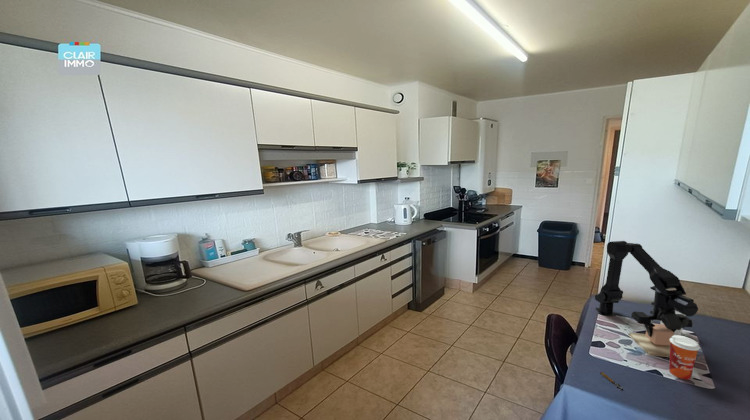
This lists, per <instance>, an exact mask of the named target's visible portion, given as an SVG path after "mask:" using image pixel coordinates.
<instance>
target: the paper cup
mask: <svg viewBox="0 0 750 420" xmlns="http://www.w3.org/2000/svg"><path fill="white" fill-rule="evenodd" d="M670 342H671V343H670V357H669V365H668V366H669V367H668V368H669V373H670V374H671V375H672V376H674V377H677V378H678V379H682V380H690V379H691V377H692V374H693V370H694V367H695V363H696V359H697V355H698V352H699V350H700V349H701V347H700V344H699V343H698V342H697V341H696V340H694V339H692V338H690V337H688V336H684V335H681V336H680V335H674V336H672V337H671V338H670Z"/></svg>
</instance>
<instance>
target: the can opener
mask: <svg viewBox="0 0 750 420" xmlns="http://www.w3.org/2000/svg"><path fill="white" fill-rule="evenodd" d="M600 375H601V376H602V377H604V378H605V379H607V381H609V382H610V383H612V384H613V386H617V387H618V388H619V389H620V390H622V389H623V390H624V388H623V387H621V386H622V385H621V384H620V383H617V382H615V380H613V379H612V378H611V377H610V376H608V375H607V374H606V373H604V372H603V371H601V372H600Z"/></svg>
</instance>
